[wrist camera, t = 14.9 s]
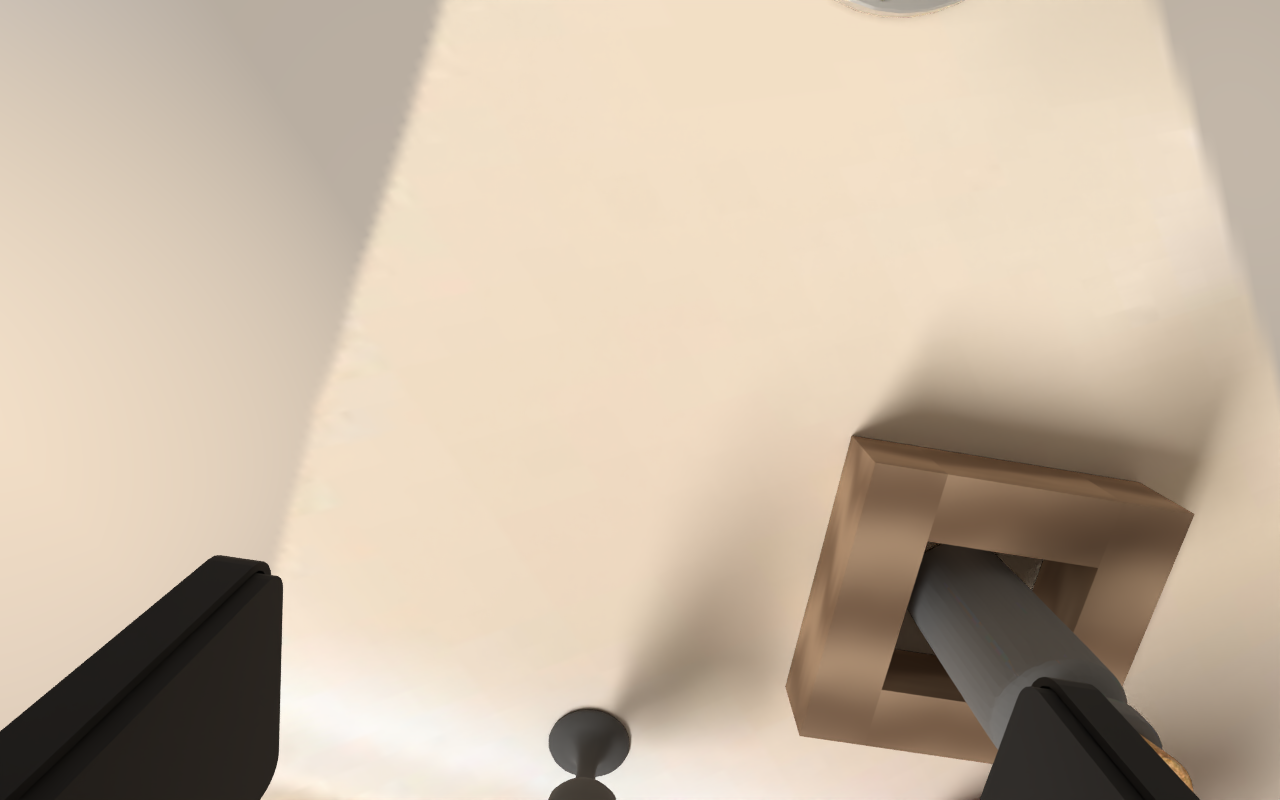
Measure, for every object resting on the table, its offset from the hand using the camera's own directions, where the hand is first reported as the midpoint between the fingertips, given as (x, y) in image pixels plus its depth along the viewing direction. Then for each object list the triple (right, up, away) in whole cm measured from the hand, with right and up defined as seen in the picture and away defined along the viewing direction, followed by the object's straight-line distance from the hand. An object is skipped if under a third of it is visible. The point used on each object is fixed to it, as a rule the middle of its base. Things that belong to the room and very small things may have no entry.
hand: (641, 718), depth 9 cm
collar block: (+18, -7, +31) cm, 37 cm away
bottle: (+18, -7, +31) cm, 37 cm away
